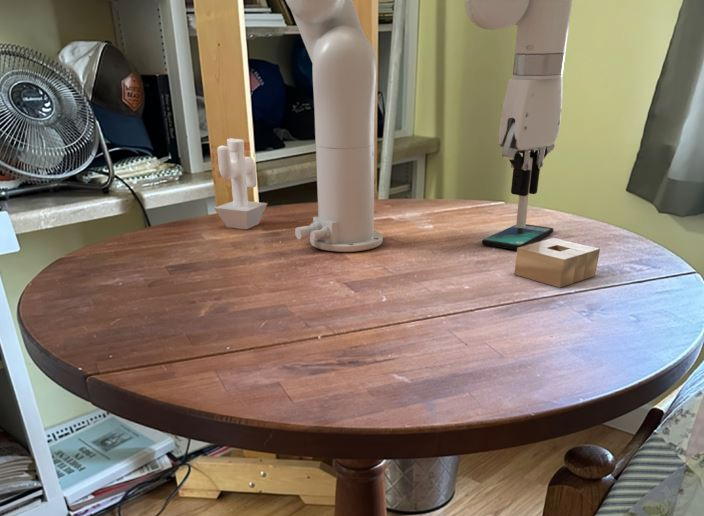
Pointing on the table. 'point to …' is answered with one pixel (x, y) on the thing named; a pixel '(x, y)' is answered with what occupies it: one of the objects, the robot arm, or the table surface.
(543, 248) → the pen stand
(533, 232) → the smartphone
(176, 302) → the table surface
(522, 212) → the white rod
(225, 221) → the figurine
